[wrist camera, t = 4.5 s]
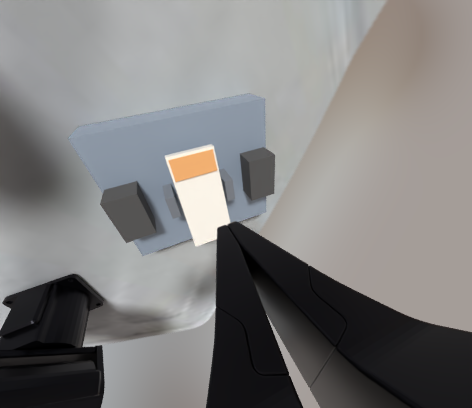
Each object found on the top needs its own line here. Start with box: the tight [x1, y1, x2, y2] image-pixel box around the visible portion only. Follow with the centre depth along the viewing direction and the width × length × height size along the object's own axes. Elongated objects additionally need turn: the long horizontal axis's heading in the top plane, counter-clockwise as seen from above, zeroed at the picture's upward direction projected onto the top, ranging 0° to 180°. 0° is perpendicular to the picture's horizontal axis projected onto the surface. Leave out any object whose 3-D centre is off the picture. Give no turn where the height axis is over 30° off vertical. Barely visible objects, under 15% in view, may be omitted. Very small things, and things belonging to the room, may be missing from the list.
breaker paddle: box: [165, 144, 230, 247], centre depth 16 cm, size 8×4×1 cm, turn 7°
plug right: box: [240, 147, 275, 201], centre depth 18 cm, size 4×2×2 cm, turn 7°
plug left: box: [100, 181, 156, 243], centre depth 16 cm, size 4×2×2 cm, turn 7°
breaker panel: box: [68, 94, 266, 256], centre depth 18 cm, size 12×14×5 cm
